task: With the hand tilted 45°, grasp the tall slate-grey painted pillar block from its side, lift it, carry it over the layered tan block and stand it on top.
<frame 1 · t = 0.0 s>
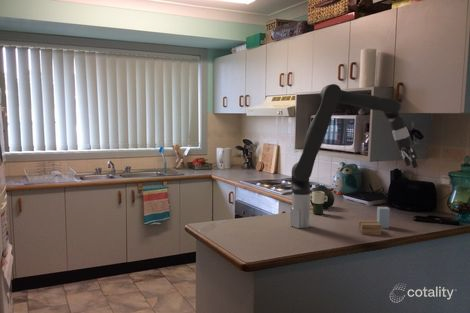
hand: (412, 166, 211), 31 cm above the countertop, tool tilted 20°, fingers open, 8 cm apart
layered tan block: (369, 232, 203), on the countertop
squash: (321, 208, 259), on the countertop
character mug: (317, 214, 242), on the countertop
grey pillar block: (382, 226, 213), on the countertop
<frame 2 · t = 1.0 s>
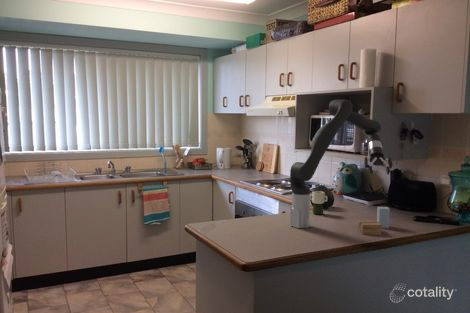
hand: (380, 173, 220), 27 cm above the countertop, tool tilted 45°, fingers open, 8 cm apart
nothing on the countertop moved.
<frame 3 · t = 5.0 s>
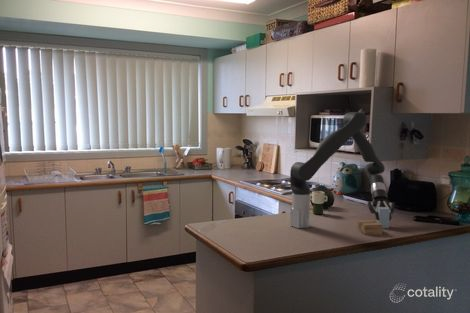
hand: (384, 219, 211), 4 cm above the countertop, tool tilted 45°, fingers closed on grey pillar block, 5 cm apart
grey pillar block: (382, 226, 213), on the countertop, touching gripper
everything else where it was.
when the fingers open (11 cm above the countertop, at t = 10.0 s): grey pillar block drops 2 cm, point 5 cm above the countertop.
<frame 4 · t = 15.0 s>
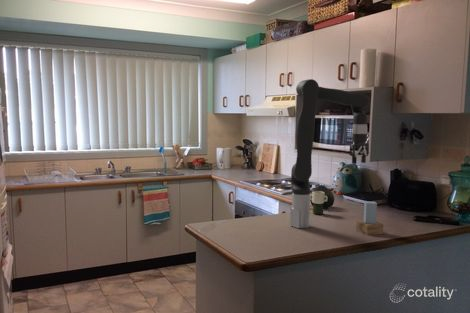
hand: (358, 163, 219), 32 cm above the countertop, tool pointing down, fingers open, 8 cm apart
grey pillar block: (369, 222, 203), point 5 cm above the countertop
at the end: grey pillar block inside the target area on the layered tan block (0.2 cm from its centre), point 5.1 cm above the layered tan block's base; grey pillar block tilted 1°; the gripper is holding nothing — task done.
